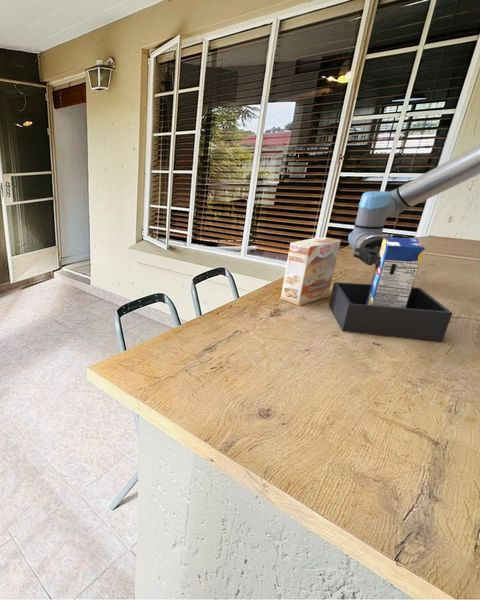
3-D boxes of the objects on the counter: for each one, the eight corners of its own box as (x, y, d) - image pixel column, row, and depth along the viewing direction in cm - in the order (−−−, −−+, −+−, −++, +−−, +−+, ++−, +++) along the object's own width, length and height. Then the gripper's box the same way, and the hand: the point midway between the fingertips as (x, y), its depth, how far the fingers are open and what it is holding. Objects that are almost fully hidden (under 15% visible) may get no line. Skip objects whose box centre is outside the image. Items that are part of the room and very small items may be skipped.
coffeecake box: (299, 306, 112) (310, 246, 104) (279, 299, 118) (288, 242, 111) (329, 296, 117) (342, 239, 110) (309, 290, 123) (319, 235, 116)
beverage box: (366, 324, 96) (388, 245, 88) (364, 309, 104) (383, 236, 96) (399, 329, 92) (425, 247, 84) (394, 314, 100) (417, 238, 92)
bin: (412, 313, 102) (420, 287, 100) (441, 342, 87) (452, 313, 84) (328, 305, 111) (333, 282, 108) (342, 331, 95) (348, 304, 92)
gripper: (404, 261, 106) (439, 286, 86) (339, 258, 112) (359, 281, 92) (411, 236, 103) (450, 257, 83) (345, 235, 109) (366, 253, 90)
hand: (402, 269), depth 88 cm, fingers open, 3 cm apart
